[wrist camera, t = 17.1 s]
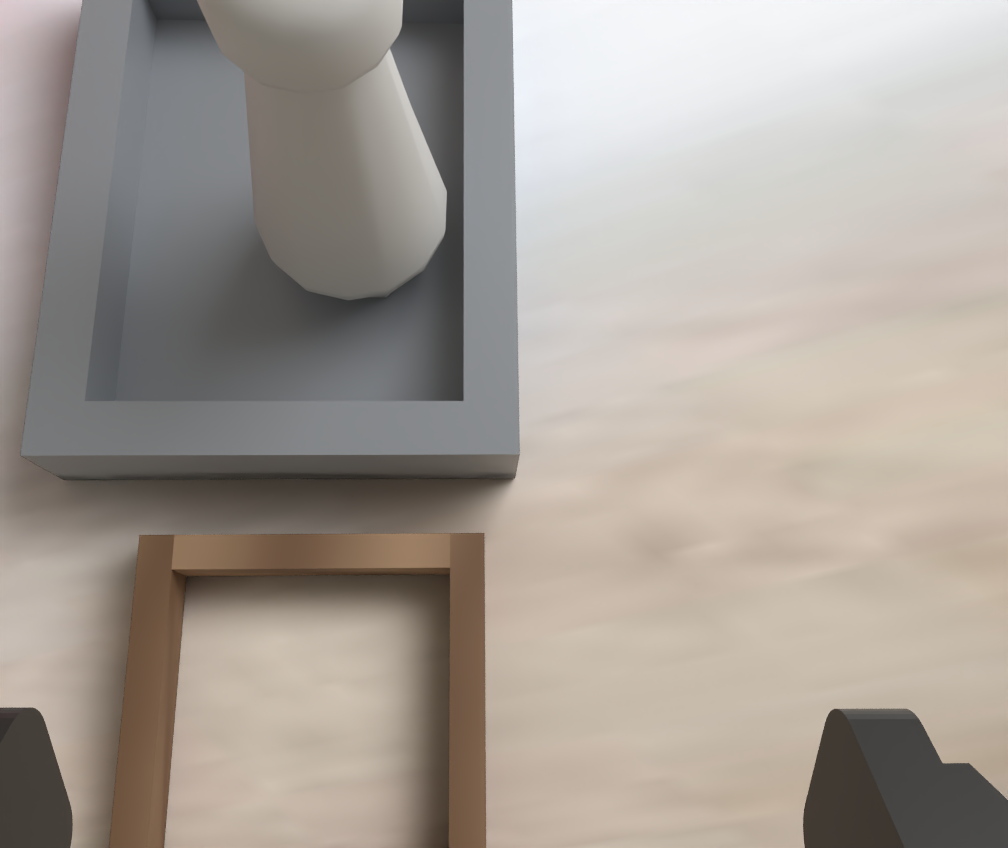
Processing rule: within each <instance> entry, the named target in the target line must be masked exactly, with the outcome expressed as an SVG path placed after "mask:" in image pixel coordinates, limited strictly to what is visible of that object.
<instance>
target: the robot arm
mask: <svg viewBox="0 0 1008 848" xmlns="http://www.w3.org/2000/svg"><path fill="white" fill-rule="evenodd" d="M72 826H73V824H72V810H71V806H70V802H69V799H68V796H67V792H66V789H65V786H64V783H63V779H62V776H61V773H60V770H59V766H58V763H57V760H56V757H55V753H54V750H53V747H52V744H51V740H50V737H49V734H48V731H47V727H46V724H45V721H44V719H43V716H42V715H41V713H40V712H39V711H38V710H37V709H35V708H0V848H70V846H71V839H72ZM803 832H804V844H805V848H1008V800H1007V799H1006V798H1005V797H1004V796H1003V795H1002V794H1001V793H1000V792H999V791H998V790H997V789H996V788H994V787H993V786H992V785H991V784H990V783H989V782H988V781H987V780H986V779H985V778H984V777H983V776H982V775H981V774H980V773H979V772H978V771H977V770H976V769H974V768H973V767H972V766H971V765H970V764H969V763H950V764H943V763H942V761H941V760H940V758H939V756H938V754H937V752H936V750H935V748H934V746H933V744H932V742H931V741H930V739H929V737H928V735H927V733H926V731H925V729H924V727H923V725H922V724H921V722H920V720H919V719H918V717H917V716H916V715H915V714H914V713H913V712H912V711H910V710H908V709H833V710H832V711H831V712H830V713H829V715H828V717H827V719H826V722H825V726H824V730H823V734H822V738H821V742H820V746H819V750H818V754H817V758H816V763H815V767H814V771H813V775H812V779H811V783H810V787H809V791H808V795H807V799H806V803H805V808H804V817H803Z"/></svg>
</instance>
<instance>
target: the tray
mask: <svg viewBox="0 0 1008 848" xmlns="http://www.w3.org/2000/svg"><path fill="white" fill-rule="evenodd" d="M390 50H391V53H392V56H393V58H394V61H395V64H396V66H397V69H398V72H399V75H400V77H401V80H402V83H403V85H404V88H405V91H406V93H407V96H408V99H409V101H410V104H411V107H412V109H413V111H414V114H415V116H416V119H417V121H418V123H419V126H420V128H421V131H422V133H423V135H424V138H425V140H426V143H427V145H428V147H429V150H430V152H431V155H432V157H433V159H434V162H435V164H436V167H437V169H438V171H439V174H440V176H441V179H442V181H443V183H444V186H445V188H446V191H447V202H446V229H445V234H444V238H443V240H442V241H441V243H440V245H439V246H438V248H437V250H436V251H435V253H434V255H433V256H432V258H431V260H430V261H429V263H428V265H427V266H426V268H425V270H424V271H423V272H421V273H420V274H418V275H417V276H415V277H414V278H412V279H411V280H409V281H408V282H407V283H405V284H404V285H402V286H401V287H399V288H398V289H396V290H395V291H393V292H392V293H391V294H390V295H389V296H388V297H387V298H372V297H367V298H361V299H355V300H349V301H348V300H344V299H340V298H335V297H331V296H326V295H322V294H317V293H313V292H308V291H306V290H305V289H304V288H303V287H302V286H301V285H299V284H298V283H297V282H296V281H295V280H293V279H292V278H291V277H290V276H289V275H288V274H286V273H285V272H284V271H283V270H282V269H281V268H279V267H278V266H277V265H276V264H275V263H274V262H273V261H272V260H271V258H270V256H269V254H268V251H267V249H266V247H265V245H264V243H263V241H262V238H261V236H260V234H259V232H258V230H257V227H256V225H255V221H254V207H253V193H252V179H251V165H250V151H249V137H248V123H247V109H246V95H245V81H244V71H243V70H241V69H240V68H239V67H238V66H236V65H235V64H234V63H233V62H231V61H230V60H229V59H228V58H227V57H226V56H224V55H223V54H222V53H221V51H220V49H219V47H218V45H217V43H216V41H215V39H214V37H213V35H212V32H211V30H210V28H209V26H208V24H207V21H206V19H205V17H204V15H203V13H202V11H201V8H200V6H199V4H198V2H197V0H83V1H82V8H81V16H80V23H79V30H78V37H77V45H76V52H75V59H74V67H73V74H72V81H71V88H70V96H69V103H68V110H67V118H66V125H65V132H64V139H63V147H62V154H61V161H60V169H59V176H58V183H57V190H56V198H55V205H54V212H53V220H52V227H51V234H50V241H49V249H48V256H47V263H46V270H45V278H44V285H43V292H42V300H41V307H40V314H39V321H38V329H37V336H36V343H35V351H34V358H33V365H32V372H31V380H30V387H29V394H28V402H27V409H26V416H25V423H24V431H23V438H22V445H21V453H20V456H22V457H23V458H25V459H27V460H29V461H31V462H33V463H34V464H36V465H38V466H40V467H42V468H43V469H45V470H47V471H49V472H51V473H52V474H54V475H56V476H58V477H60V478H61V479H63V480H195V479H488V478H515V476H516V471H517V466H518V460H519V455H520V443H519V383H518V323H517V263H516V203H515V143H514V83H513V22H512V0H403V13H402V27H401V30H400V32H399V35H398V37H397V38H396V40H395V41H394V43H393V44H392V46H391V47H390Z"/></svg>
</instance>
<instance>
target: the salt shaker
mask: <svg viewBox="0 0 1008 848" xmlns="http://www.w3.org/2000/svg"><path fill="white" fill-rule="evenodd" d="M197 2H198V4H199V6H200V8H201V11H202V13H203V15H204V17H205V19H206V21H207V24H208V26H209V28H210V30H211V32H212V35H213V37H214V39H215V41H216V43H217V45H218V47H219V49H220V51H221V53H222V54H223V55H224V56H226V57H227V58H228V59H229V60H230V61H231V62H233V63H234V64H235V65H236V66H238V67H239V68H240V69H241V70H243V71H244V81H245V95H246V109H247V123H248V137H249V151H250V165H251V179H252V193H253V207H254V221H255V225H256V227H257V230H258V232H259V234H260V236H261V238H262V241H263V243H264V245H265V247H266V249H267V251H268V254H269V256H270V258H271V260H272V261H273V262H274V263H275V264H276V265H277V266H278V267H279V268H281V269H282V270H283V271H284V272H285V273H286V274H288V275H289V276H290V277H291V278H292V279H293V280H295V281H296V282H297V283H298V284H299V285H301V286H302V287H303V288H304V289H305V290H306V291H308V292H313V293H317V294H322V295H326V296H331V297H335V298H340V299H344V300H348V301H349V300H355V299H361V298H367V297H372V298H387V297H388V296H389V295H390V294H391V293H392V292H393V291H395V290H396V289H398V288H399V287H401V286H402V285H404V284H405V283H407V282H408V281H409V280H411V279H412V278H414V277H415V276H417V275H418V274H420V273H421V272H423V271H424V270H425V268H426V266H427V265H428V263H429V261H430V260H431V258H432V256H433V255H434V253H435V251H436V250H437V248H438V246H439V245H440V243H441V241H442V240H443V238H444V234H445V229H446V202H447V191H446V188H445V186H444V183H443V181H442V179H441V176H440V174H439V171H438V169H437V167H436V164H435V162H434V159H433V157H432V155H431V152H430V150H429V147H428V145H427V143H426V140H425V138H424V135H423V133H422V131H421V128H420V126H419V123H418V121H417V119H416V116H415V114H414V111H413V109H412V107H411V104H410V101H409V99H408V96H407V93H406V91H405V88H404V85H403V83H402V80H401V77H400V75H399V72H398V69H397V66H396V64H395V61H394V58H393V56H392V53H391V50H390V47H391V46H392V44H393V43H394V41H395V40H396V38H397V37H398V35H399V32H400V30H401V27H402V13H403V0H197Z"/></svg>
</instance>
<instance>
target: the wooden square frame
mask: <svg viewBox="0 0 1008 848" xmlns="http://www.w3.org/2000/svg"><path fill="white" fill-rule="evenodd" d="M426 574H450V685H449V848H486V752H485V574H484V533H433V534H250V535H140V536H139V547H138V557H137V567H136V577H135V587H134V598H133V608H132V618H131V628H130V638H129V649H128V659H127V669H126V679H125V689H124V699H123V710H122V720H121V730H120V740H119V750H118V761H117V771H116V781H115V791H114V801H113V812H112V822H111V832H110V842H109V848H164V840H165V828H166V816H167V804H168V792H169V780H170V768H171V756H172V744H173V732H174V720H175V708H176V696H177V684H178V672H179V660H180V648H181V636H182V624H183V611H184V599H185V587H186V576H283V575H426Z"/></svg>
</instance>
